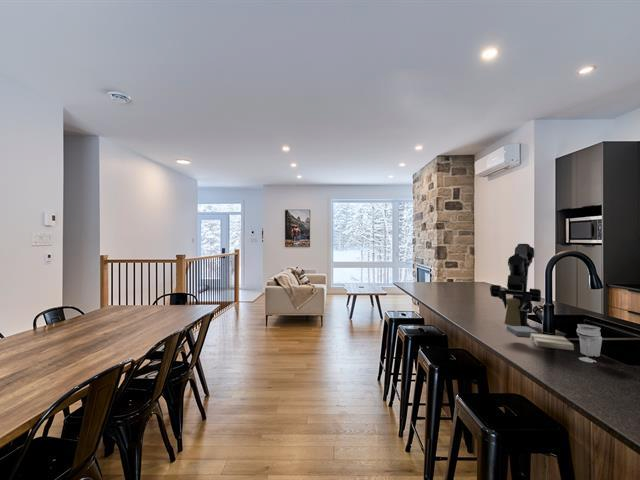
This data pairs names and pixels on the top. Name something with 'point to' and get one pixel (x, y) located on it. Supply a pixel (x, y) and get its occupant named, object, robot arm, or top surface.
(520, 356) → the top surface
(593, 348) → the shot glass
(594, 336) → the wineglass
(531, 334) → the maple slab
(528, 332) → the blue grey block
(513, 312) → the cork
